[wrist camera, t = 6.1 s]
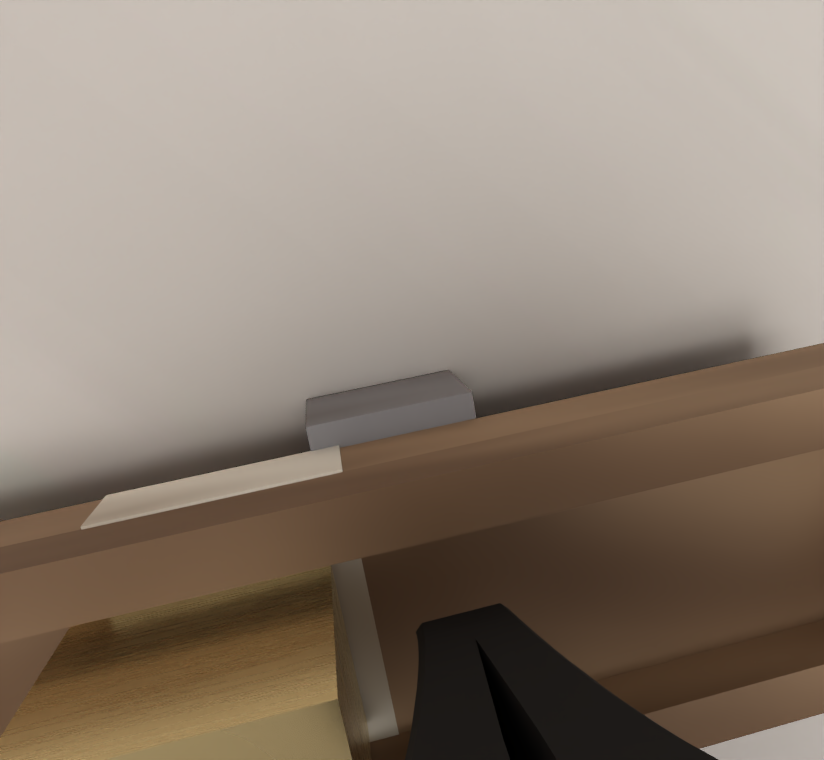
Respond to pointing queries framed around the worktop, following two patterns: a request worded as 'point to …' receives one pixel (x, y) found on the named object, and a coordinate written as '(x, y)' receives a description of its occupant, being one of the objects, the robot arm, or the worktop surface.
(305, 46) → the worktop surface
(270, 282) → the worktop surface
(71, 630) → the tan wooden block
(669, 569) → the beam
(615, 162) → the worktop surface
